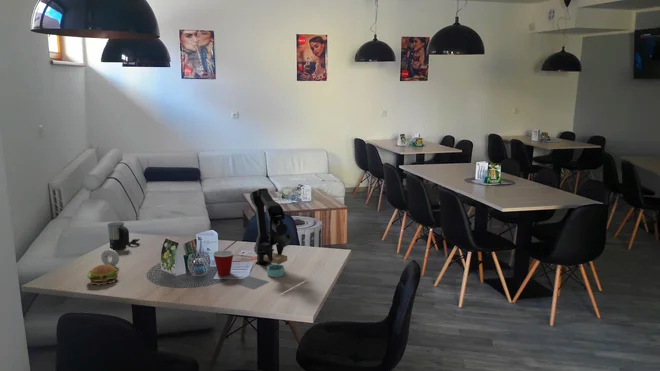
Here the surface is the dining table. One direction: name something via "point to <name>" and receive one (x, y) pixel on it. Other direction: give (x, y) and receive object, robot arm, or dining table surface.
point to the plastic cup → (223, 262)
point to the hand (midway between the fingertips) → (275, 259)
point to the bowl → (275, 270)
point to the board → (276, 258)
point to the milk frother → (119, 235)
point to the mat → (251, 282)
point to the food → (103, 274)
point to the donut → (113, 254)
